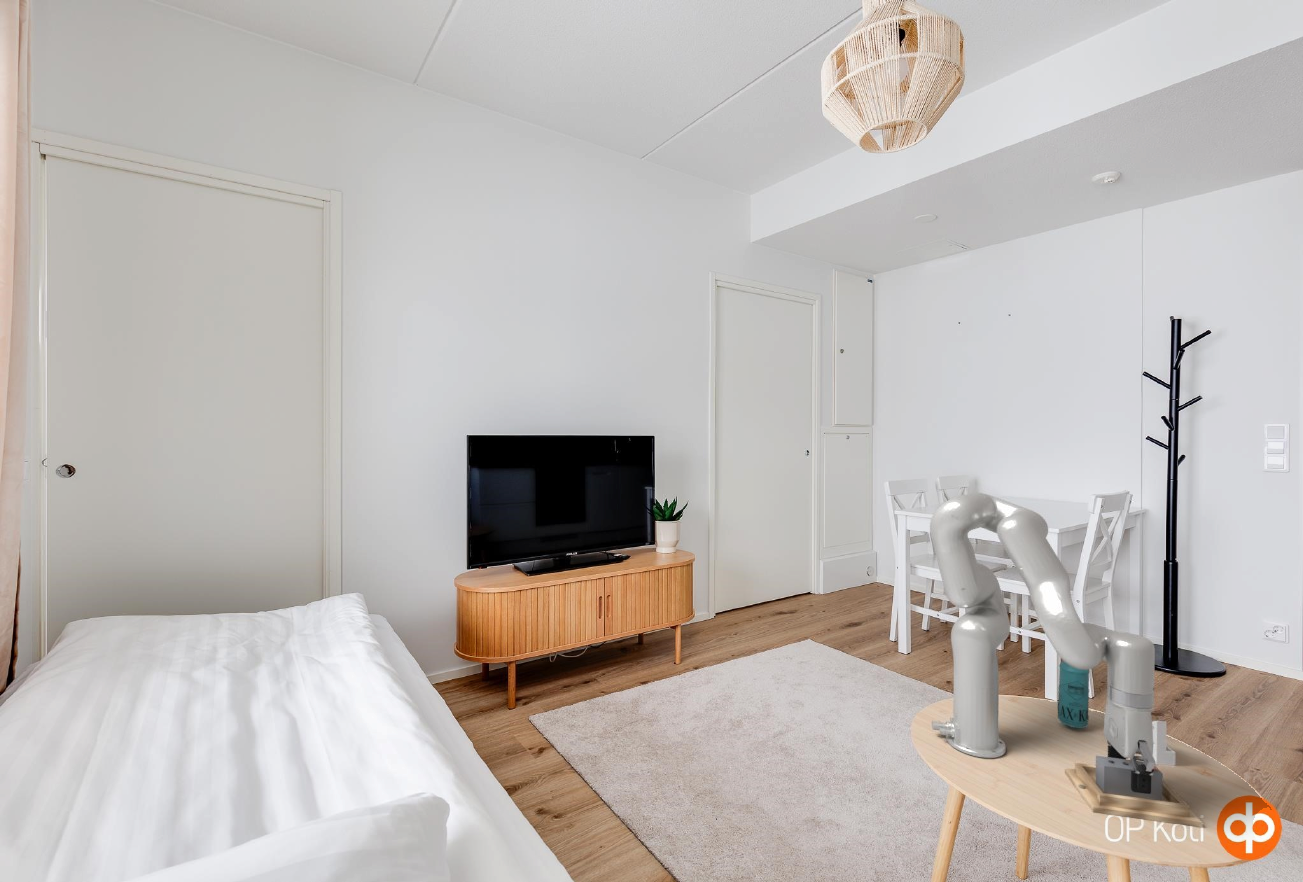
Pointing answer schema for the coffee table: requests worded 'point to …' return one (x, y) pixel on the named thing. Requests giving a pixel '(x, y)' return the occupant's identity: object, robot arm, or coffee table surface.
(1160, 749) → the white wedge bracket
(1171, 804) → the wooden tray
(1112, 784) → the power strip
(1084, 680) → the beverage bottle
